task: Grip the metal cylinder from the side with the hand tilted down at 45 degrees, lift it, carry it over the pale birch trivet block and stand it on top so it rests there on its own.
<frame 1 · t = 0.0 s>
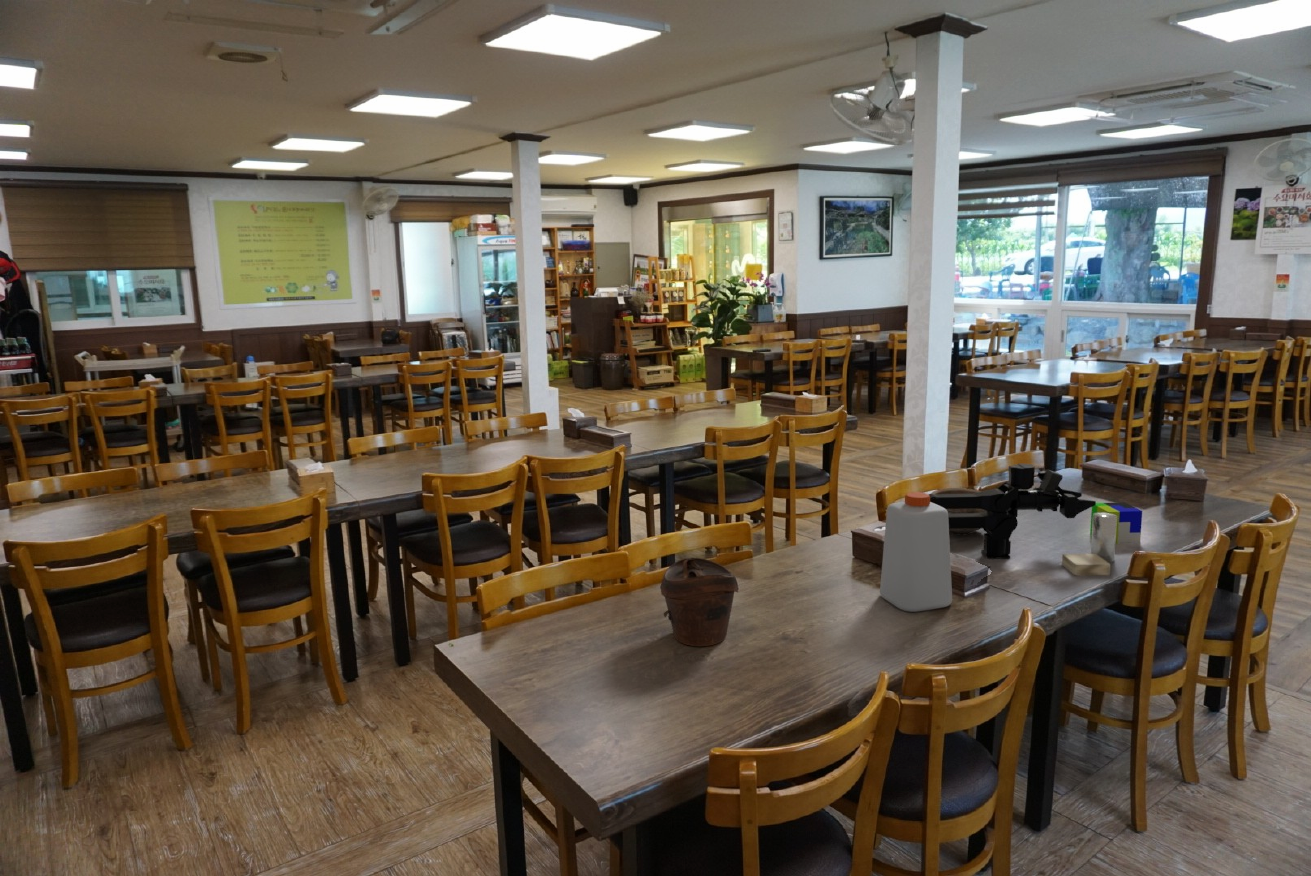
hand: (1088, 498, 243), 17 cm above the table, tool horizontal, fingers open, 9 cm apart
brown lidded bucket: (699, 636, 201), on the table
metal cylinder: (1102, 559, 242), on the table
birch block: (1085, 569, 234), on the table
plastic bottle: (915, 601, 217), on the table
puzzle toy: (1114, 539, 259), on the table
cooking pot: (959, 532, 271), on the table
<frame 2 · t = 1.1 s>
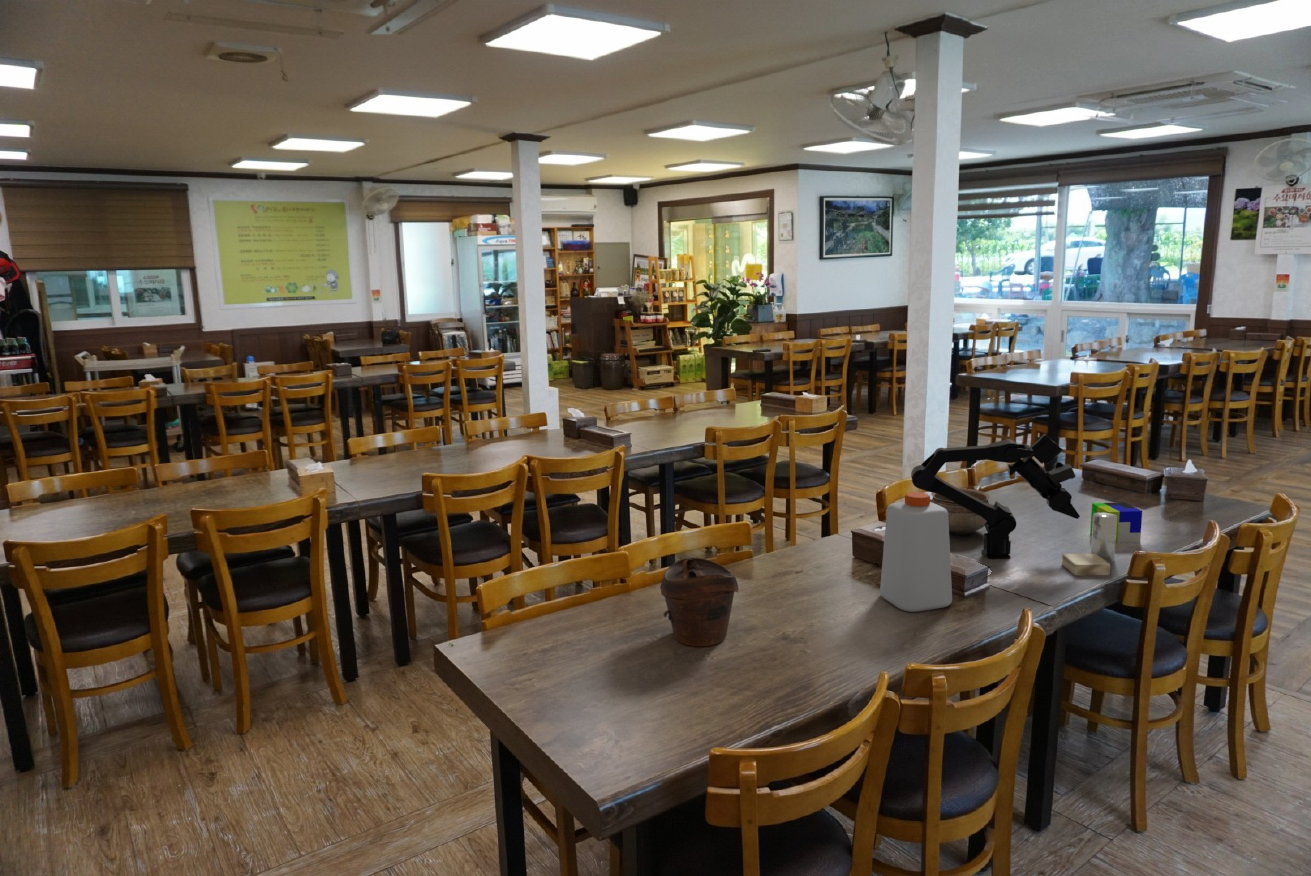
hand: (1074, 513, 241), 13 cm above the table, tool tilted 45°, fingers open, 9 cm apart
nothing on the table moved.
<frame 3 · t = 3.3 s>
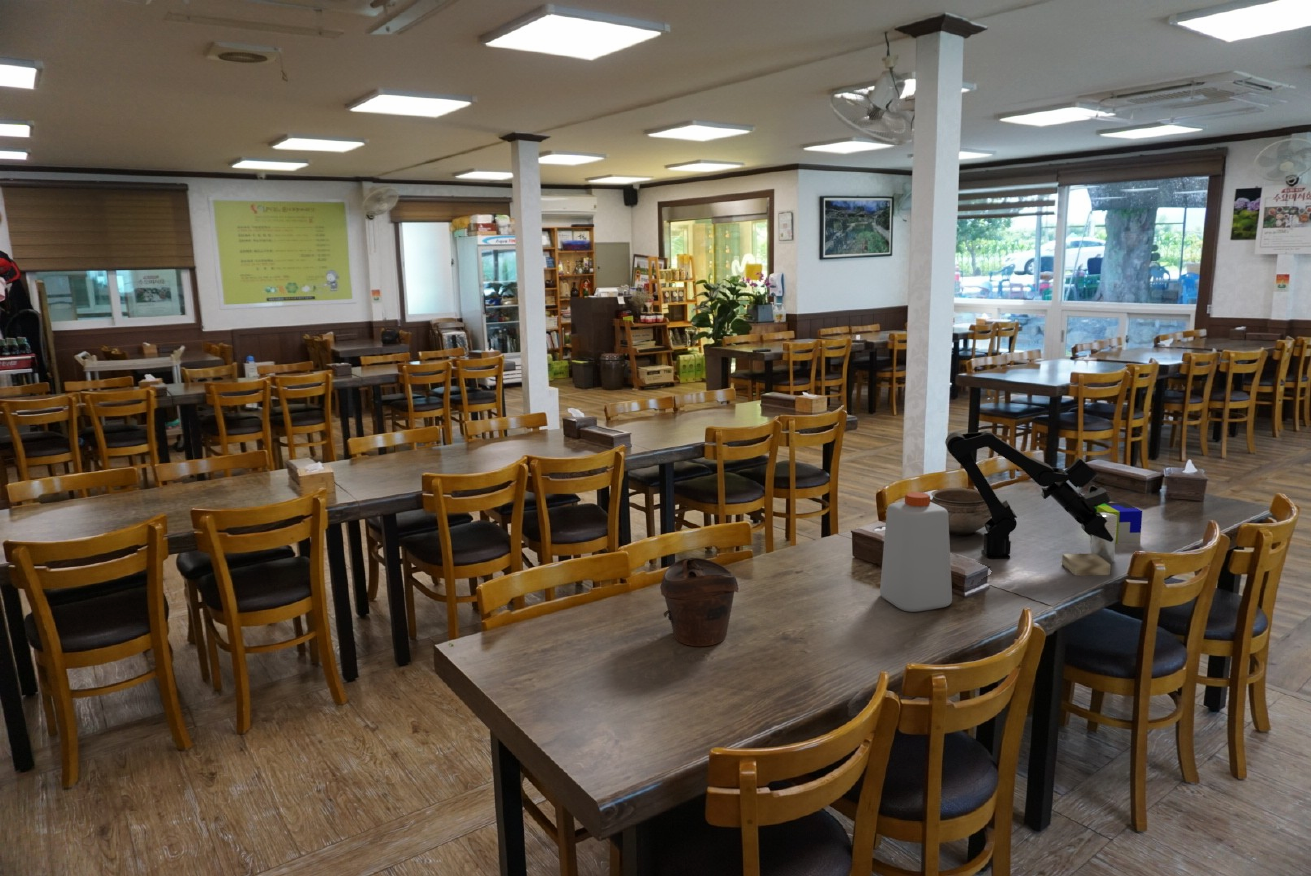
hand: (1109, 537, 240), 7 cm above the table, tool tilted 45°, fingers closed on metal cylinder, 6 cm apart
metal cylinder: (1102, 559, 242), on the table, touching gripper
everything else where it was.
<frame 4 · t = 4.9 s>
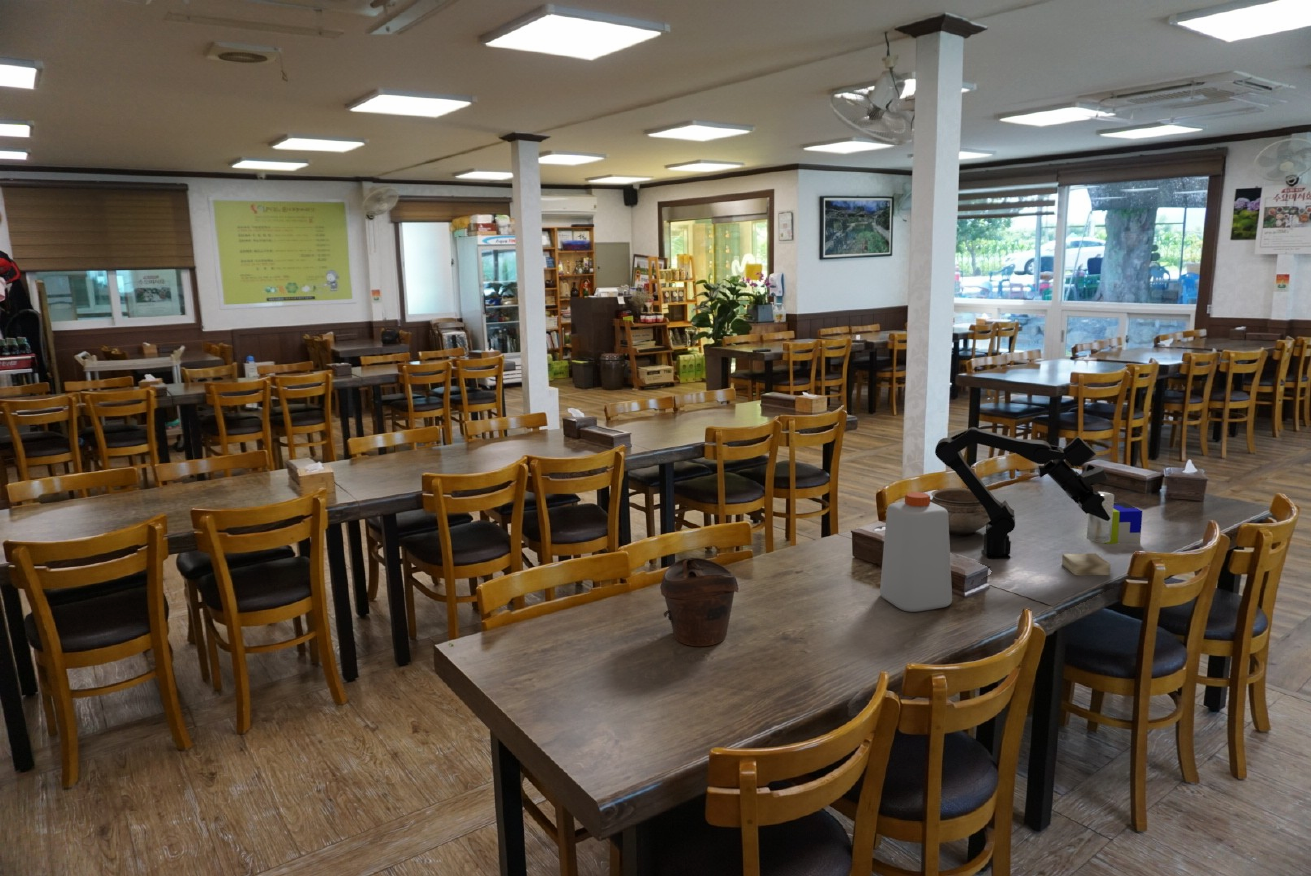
hand: (1105, 516, 237), 13 cm above the table, tool tilted 45°, fingers closed on metal cylinder, 6 cm apart
metal cylinder: (1098, 539, 239), point 7 cm above the table, touching gripper
everything else where it was.
when the fingers open (10 cm above the table, at t = 6.6 s): metal cylinder stays where it is, resting on birch block.
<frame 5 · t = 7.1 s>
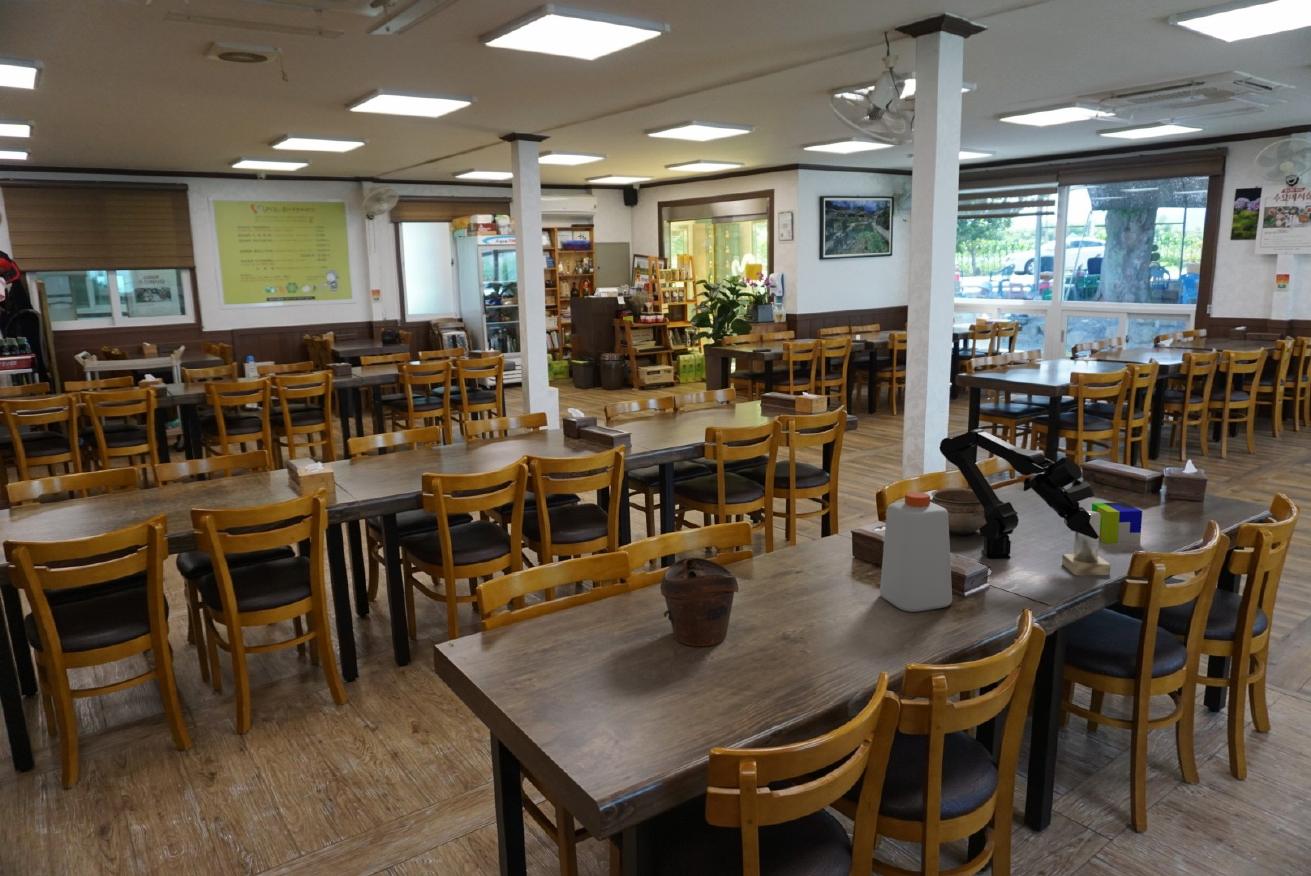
hand: (1093, 532, 232), 11 cm above the table, tool tilted 45°, fingers open, 9 cm apart
metal cylinder: (1085, 558, 234), point 3 cm above the table, touching birch block
everything else where it was.
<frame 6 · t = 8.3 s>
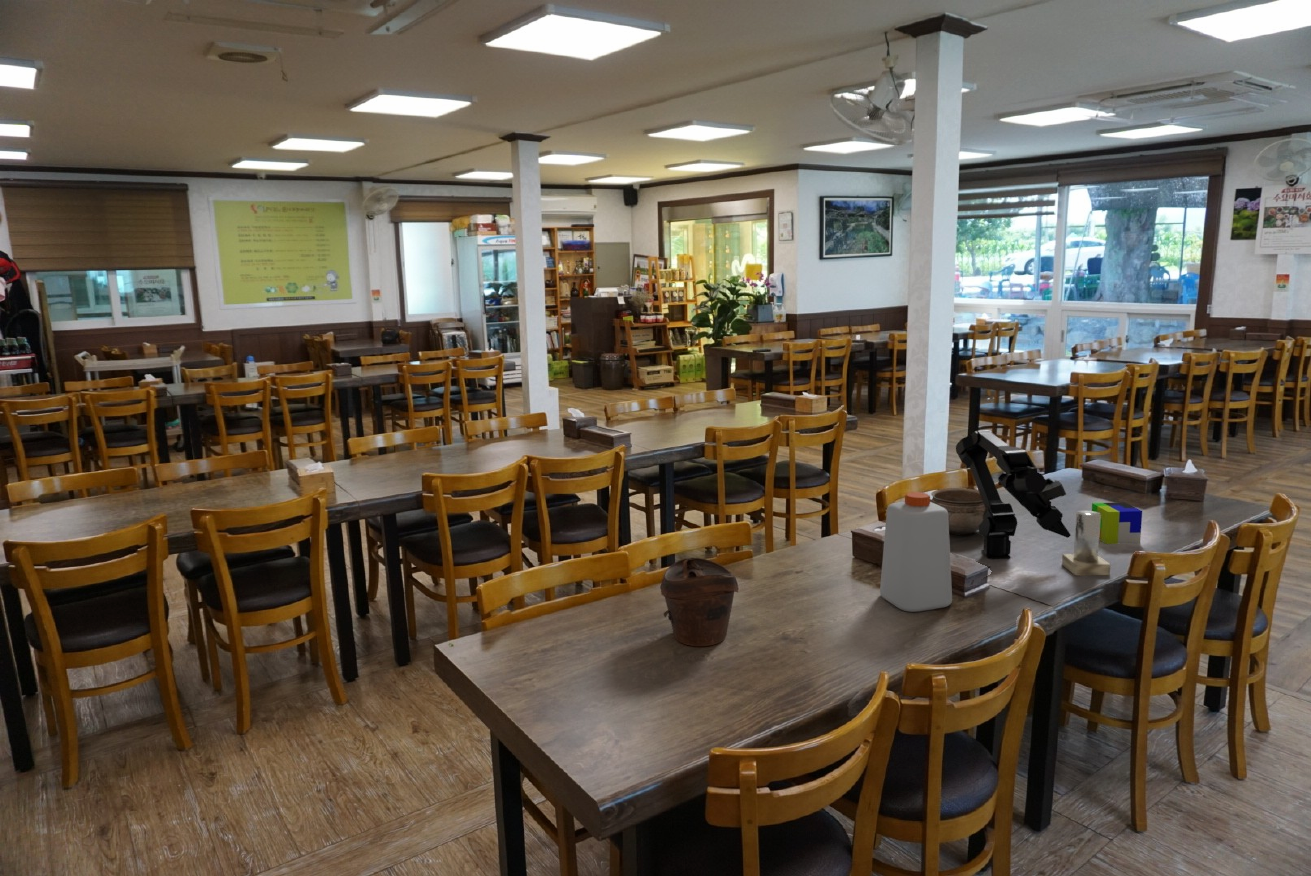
hand: (1064, 531, 234), 11 cm above the table, tool tilted 45°, fingers open, 9 cm apart
nothing on the table moved.
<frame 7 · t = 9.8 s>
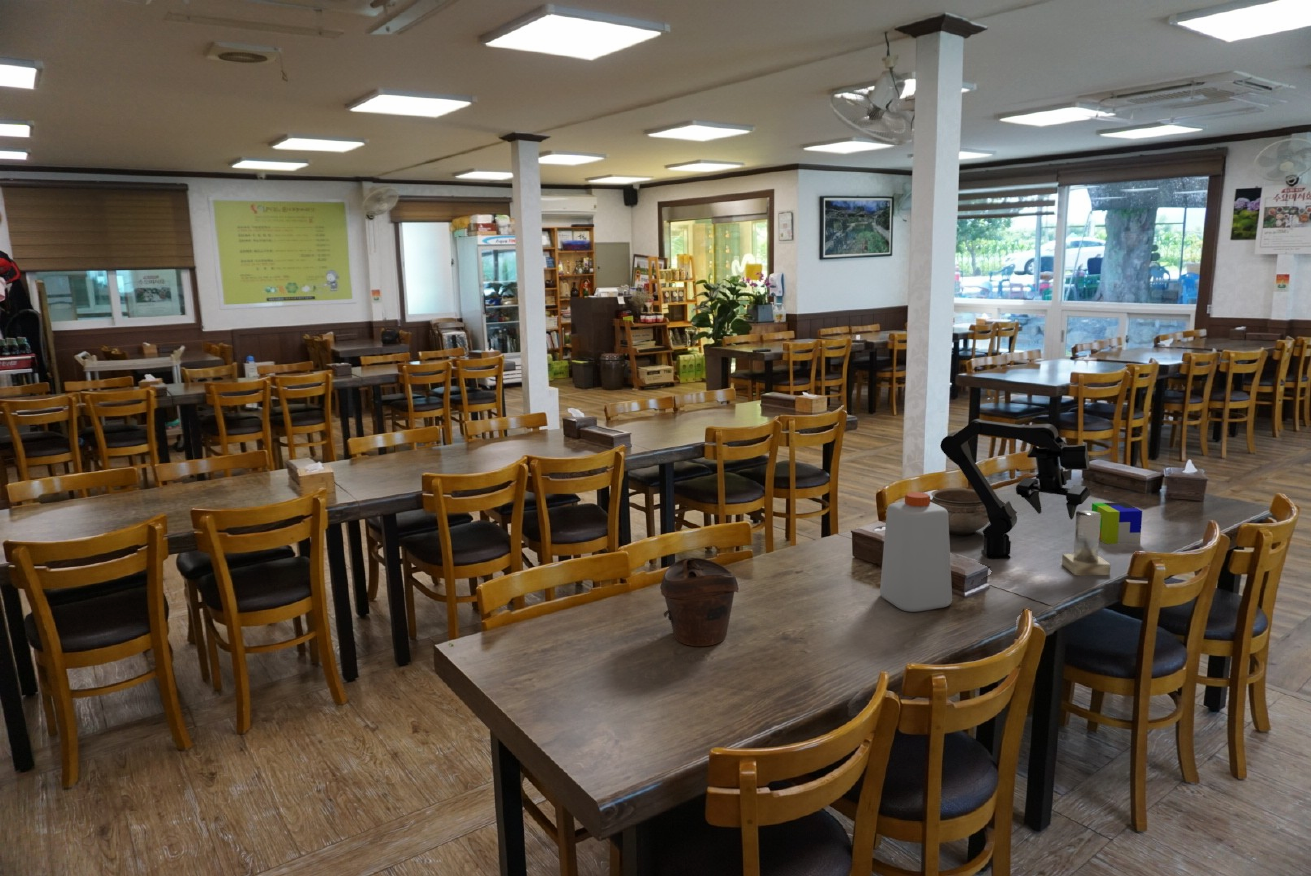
hand: (1055, 515, 242), 12 cm above the table, tool tilted 20°, fingers open, 9 cm apart
nothing on the table moved.
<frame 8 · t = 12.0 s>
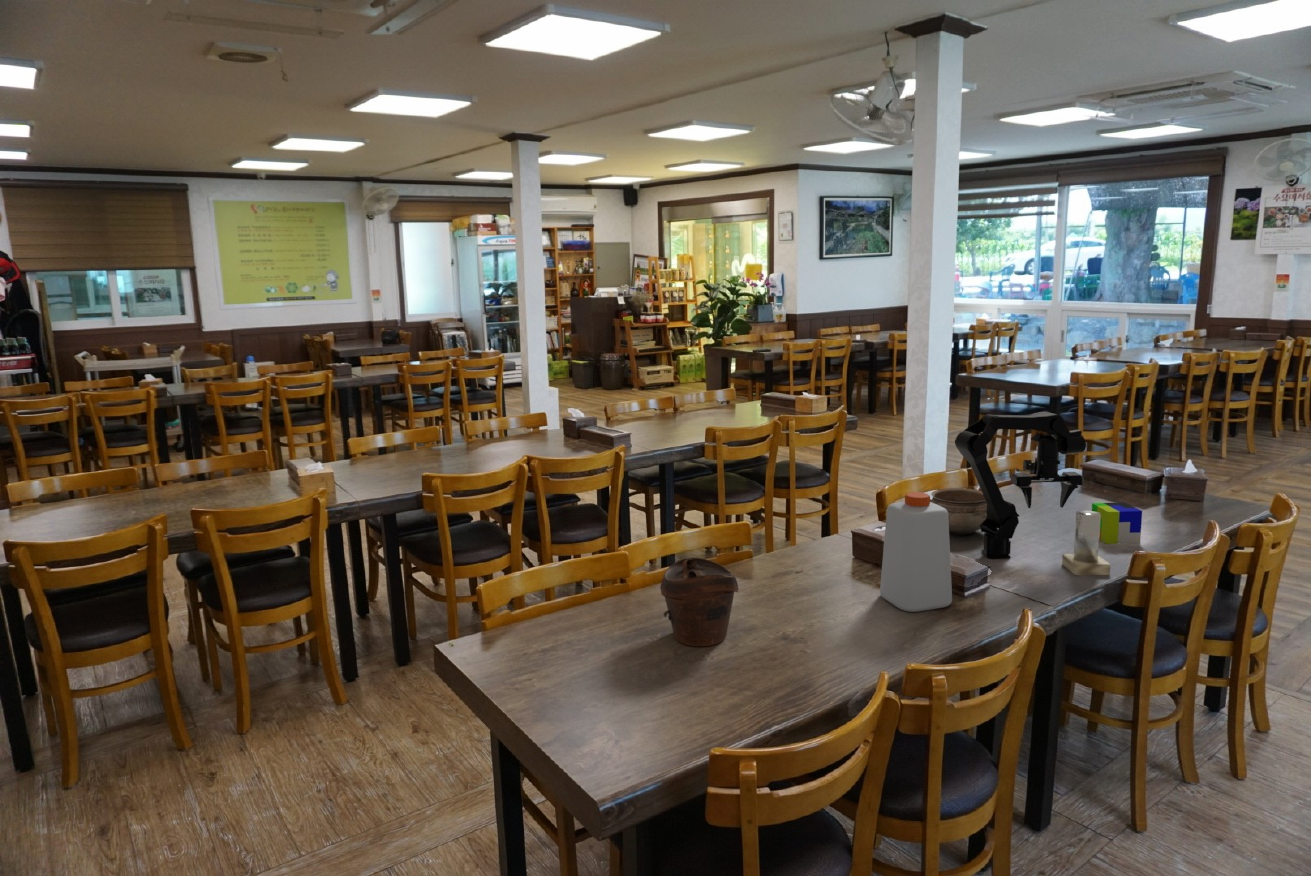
hand: (1045, 507, 249), 13 cm above the table, tool pointing down, fingers open, 9 cm apart
nothing on the table moved.
at the end: metal cylinder inside the target area on the birch block (0.1 cm from its centre), point 3.0 cm above the birch block's base; metal cylinder tilted 0°; the gripper is holding nothing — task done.
